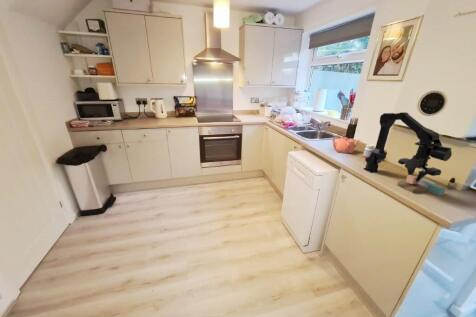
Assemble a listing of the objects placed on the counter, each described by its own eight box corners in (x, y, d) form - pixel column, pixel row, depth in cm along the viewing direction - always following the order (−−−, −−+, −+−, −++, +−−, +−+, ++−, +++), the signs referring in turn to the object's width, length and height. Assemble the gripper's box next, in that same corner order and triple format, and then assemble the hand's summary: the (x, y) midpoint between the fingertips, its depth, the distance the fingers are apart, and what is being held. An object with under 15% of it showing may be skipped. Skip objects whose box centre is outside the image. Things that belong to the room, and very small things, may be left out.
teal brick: (426, 190, 116) (429, 184, 114) (430, 189, 117) (433, 183, 115) (438, 195, 110) (441, 189, 109) (443, 194, 111) (446, 188, 110)
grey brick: (417, 185, 122) (420, 179, 120) (422, 184, 122) (424, 178, 121) (429, 189, 116) (431, 183, 115) (433, 189, 117) (435, 183, 116)
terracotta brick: (411, 184, 114) (414, 177, 112) (405, 181, 117) (407, 175, 115) (419, 182, 115) (422, 176, 114) (413, 180, 118) (415, 174, 117)
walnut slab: (396, 185, 120) (398, 181, 119) (408, 184, 123) (409, 180, 121) (412, 193, 112) (413, 188, 111) (424, 191, 114) (425, 187, 113)
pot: (339, 147, 191) (342, 134, 187) (358, 152, 178) (361, 138, 173) (327, 150, 182) (330, 136, 177) (346, 155, 168) (349, 141, 164)
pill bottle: (368, 157, 166) (371, 144, 162) (372, 160, 160) (376, 146, 156) (360, 157, 166) (364, 144, 162) (365, 159, 160) (368, 146, 156)
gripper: (395, 150, 116) (387, 174, 122) (431, 162, 99) (420, 189, 105) (409, 149, 119) (401, 172, 125) (447, 160, 102) (435, 187, 108)
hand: (413, 180), depth 115 cm, fingers open, 4 cm apart
